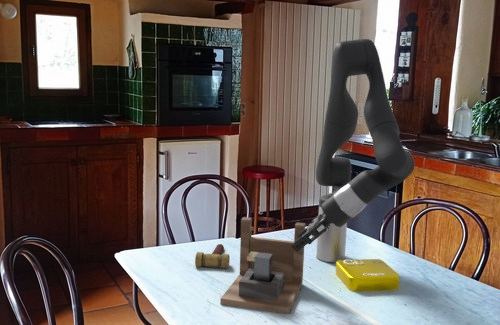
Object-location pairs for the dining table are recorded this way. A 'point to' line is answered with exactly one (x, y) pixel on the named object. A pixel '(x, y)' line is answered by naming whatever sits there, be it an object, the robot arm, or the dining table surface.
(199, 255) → the gavel
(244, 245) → the wooden peg insertion stand
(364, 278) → the element tile
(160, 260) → the dining table surface
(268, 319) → the dining table surface
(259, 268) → the tan-topped grey pillar
